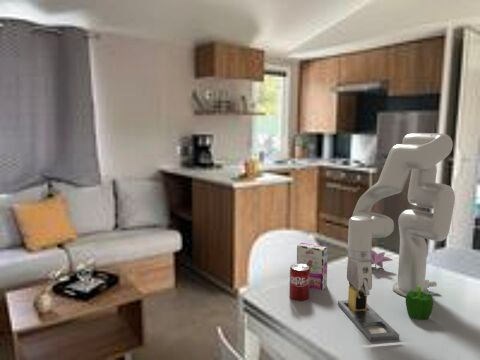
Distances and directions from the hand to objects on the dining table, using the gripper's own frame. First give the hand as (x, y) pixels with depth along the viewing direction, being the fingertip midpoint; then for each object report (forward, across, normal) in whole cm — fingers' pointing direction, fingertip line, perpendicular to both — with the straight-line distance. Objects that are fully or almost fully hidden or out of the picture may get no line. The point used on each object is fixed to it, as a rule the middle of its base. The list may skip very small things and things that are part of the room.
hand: (357, 304), depth 133 cm
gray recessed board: (+2, -7, 0) cm, 8 cm away
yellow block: (+2, 0, 0) cm, 2 cm away
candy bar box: (+3, +23, +8) cm, 25 cm away
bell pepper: (+3, -6, -19) cm, 20 cm away
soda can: (+3, +13, +16) cm, 21 cm away
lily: (+3, +36, -26) cm, 45 cm away
